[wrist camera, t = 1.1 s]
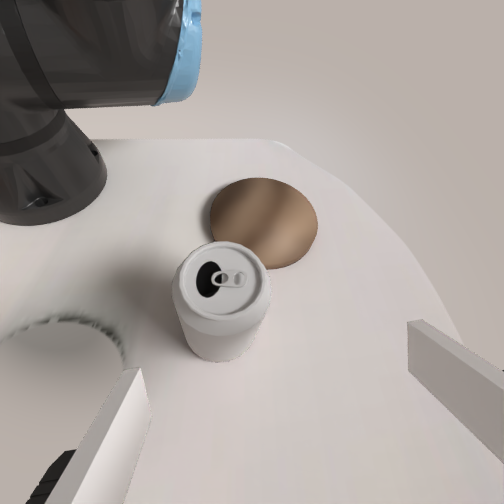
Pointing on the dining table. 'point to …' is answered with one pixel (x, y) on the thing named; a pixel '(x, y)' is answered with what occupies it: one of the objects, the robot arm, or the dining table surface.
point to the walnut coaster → (265, 220)
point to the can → (221, 299)
